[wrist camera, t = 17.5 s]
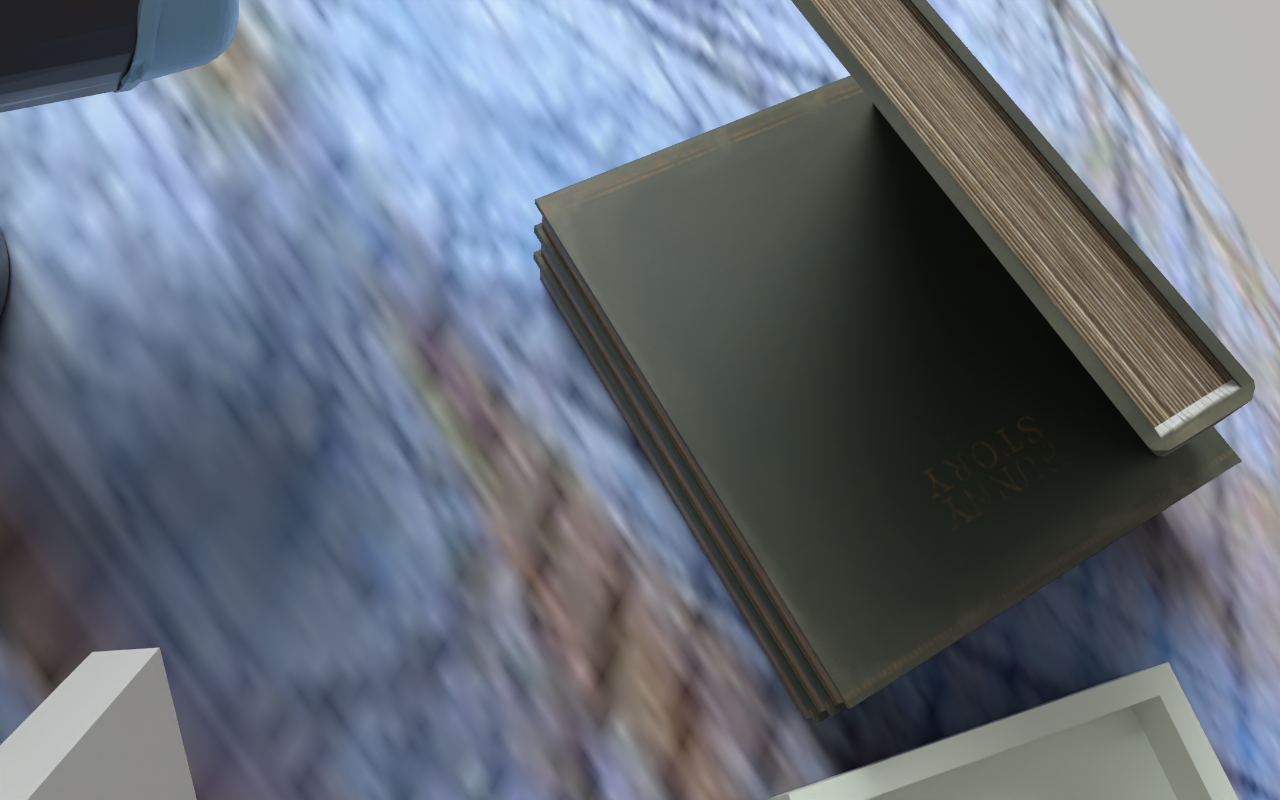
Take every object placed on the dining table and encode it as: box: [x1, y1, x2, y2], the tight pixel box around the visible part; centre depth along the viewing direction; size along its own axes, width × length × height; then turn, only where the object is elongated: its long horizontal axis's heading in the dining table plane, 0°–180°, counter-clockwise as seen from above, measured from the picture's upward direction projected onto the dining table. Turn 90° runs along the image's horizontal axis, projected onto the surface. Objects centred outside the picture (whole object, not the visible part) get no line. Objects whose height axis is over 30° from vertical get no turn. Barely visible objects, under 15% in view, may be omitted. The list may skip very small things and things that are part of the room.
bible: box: [534, 0, 1255, 724], centre depth 34 cm, size 23×20×25 cm
